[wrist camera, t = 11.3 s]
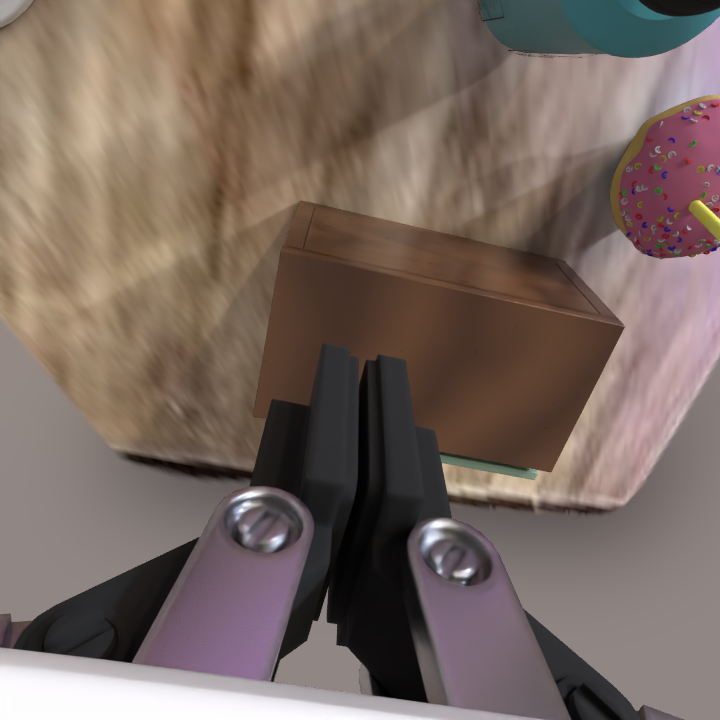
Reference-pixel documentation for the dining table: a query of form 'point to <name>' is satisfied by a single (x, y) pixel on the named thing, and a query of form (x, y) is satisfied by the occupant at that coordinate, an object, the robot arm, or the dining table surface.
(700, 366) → the dining table surface
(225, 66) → the dining table surface
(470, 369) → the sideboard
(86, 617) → the robot arm
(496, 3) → the beverage bottle
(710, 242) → the cupcake
